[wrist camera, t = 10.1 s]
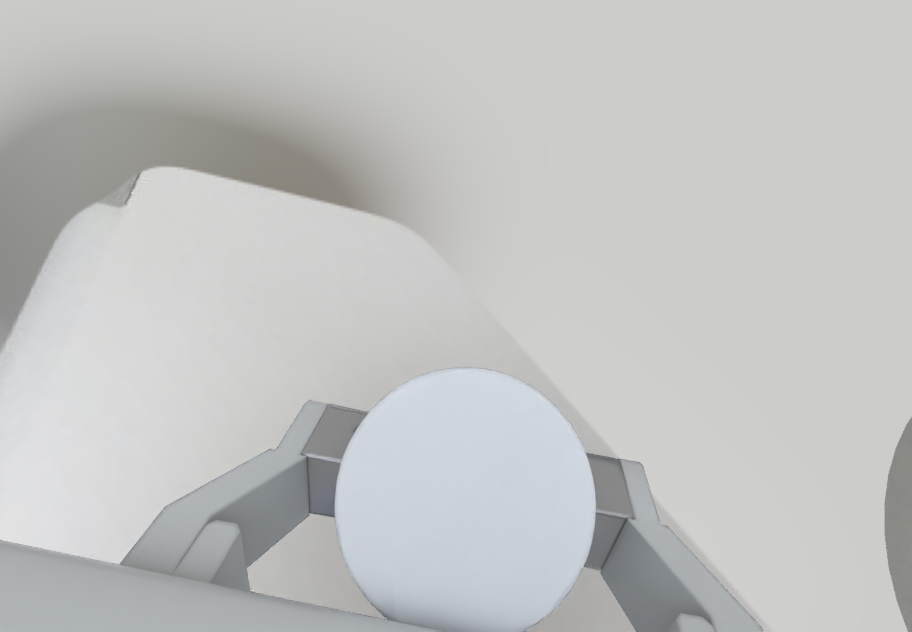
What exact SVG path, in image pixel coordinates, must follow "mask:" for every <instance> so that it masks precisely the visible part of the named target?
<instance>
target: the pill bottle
mask: <svg viewBox="0 0 912 632" xmlns="http://www.w3.org/2000/svg"><path fill="white" fill-rule="evenodd" d="M334 508H335V524H336V530H337V536H338V540H339V544H340V549H341V552H342V554H343V557H344V560H345V563H346V565H347V567H348V569H349V571H350V573H351V575H352V578H353V580H354V581H355V583H356V584H357V586H358V587H359V589H360V590H361V591H362V593H363V594H364V596H365V597H366V598H367V599H368V601H369V602H370V603H371V604H372V605H373V606H374V607H375V608H376V609H377V610H378V611H379V612H380V613H381V614H382V615H383V616H385V617H386V618H387V619H388V620H390V621H395V622H400V623H405V624H409V625H414V626H419V627H424V628H429V629H434V630H439V631H444V632H525V631H526V630H528V629H530V628H531V627H533V626H535V625H536V624H537V623H539V622H540V621H541V620H543V619H544V618H545V617H546V616H548V615H549V614H550V613H551V612H552V611H553V610H554V609H555V608H556V607H557V606H558V604H559V603H560V602H561V601H562V600H563V599H564V598H565V597H566V596H567V594H568V592H569V591H570V589H571V588H572V586H573V585H574V583H575V582H576V580H577V579H578V577H579V575H580V573H581V571H582V568H583V566H584V564H585V562H586V560H587V557H588V554H589V551H590V547H591V544H592V539H593V533H594V527H595V515H596V499H595V487H594V481H593V476H592V472H591V468H590V464H589V461H588V458H587V455H586V452H585V450H584V448H583V446H582V444H581V442H580V440H579V438H578V436H577V434H576V433H575V431H574V429H573V428H572V426H571V424H570V423H569V422H568V420H567V419H566V418H565V417H564V415H563V414H562V413H561V412H560V411H559V409H558V408H557V407H556V406H555V405H554V404H553V403H552V402H551V401H549V400H548V399H547V398H546V397H545V396H543V395H542V394H541V393H540V392H538V391H537V390H536V389H534V388H533V387H531V386H530V385H528V384H526V383H524V382H522V381H520V380H518V379H516V378H514V377H512V376H509V375H507V374H503V373H500V372H496V371H492V370H488V369H482V368H473V367H456V368H448V369H442V370H437V371H433V372H430V373H426V374H423V375H421V376H418V377H416V378H414V379H412V380H410V381H408V382H405V383H404V384H402V385H400V386H399V387H397V388H396V389H394V390H393V391H392V392H390V393H389V394H388V395H386V396H385V397H384V398H383V399H382V400H380V401H379V402H378V403H377V404H376V405H375V406H374V407H373V408H372V409H371V411H370V412H369V413H368V414H367V415H366V417H365V418H364V419H363V420H362V422H361V423H360V425H359V426H358V428H357V429H356V431H355V433H354V434H353V436H352V438H351V440H350V442H349V444H348V446H347V448H346V451H345V453H344V455H343V459H342V462H341V465H340V469H339V473H338V477H337V483H336V492H335V505H334Z"/></svg>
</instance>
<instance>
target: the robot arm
mask: <svg viewBox="0 0 912 632" xmlns="http://www.w3.org/2000/svg"><path fill="white" fill-rule="evenodd" d="M368 413H369V412H365V411H361V410H356V409H351V408H347V407H342V406H337V405H333V404H326V403H321V402H317V401H312V400H309V401H308V402H306V403H305V404H304V405H303V407H302V409H301V410H300V412H299V413H298V415H297V417H296V418H295V420H294V422H293V423H292V425H291V426H290V428H289V430H288V431H287V433H286V434H285V436H284V438H283V439H282V441H281V443H280V444H279V446H278V447H277V449H276V450H272V449H269V450H267V451H265V452H263V453H261V454H260V455H258V456H256V457H254V458H252V459H251V460H249V461H247V462H245V463H243V464H242V465H240V466H238V467H236V468H234V469H232V470H231V471H229V472H227V473H225V474H223V475H222V476H220V477H218V478H216V479H214V480H213V481H211V482H209V483H207V484H205V485H204V486H202V487H200V488H198V489H196V490H194V491H193V492H191V493H189V494H187V495H185V496H184V497H182V498H180V499H178V500H176V501H175V502H173V503H171V504H169V505H167V506H165V507H164V508H163V510H162V511H161V512H160V514H159V515H158V516H157V517H156V519H155V520H154V521H153V522H152V524H151V525H150V526H149V528H148V529H147V530H146V531H145V533H144V534H143V535H142V536H141V538H140V539H139V540H138V542H137V543H136V544H135V545H134V547H133V548H132V549H131V550H130V552H129V553H128V554H127V555H126V557H125V558H124V559H123V561H122V562H121V563H120V564H114V563H109V562H104V561H99V560H94V559H90V558H85V557H80V556H75V555H70V554H65V553H61V552H56V551H51V550H46V549H41V548H36V547H32V546H27V545H22V544H17V543H12V542H8V541H3V540H0V632H444V631H439V630H434V629H429V628H424V627H419V626H414V625H409V624H405V623H400V622H395V621H390V620H385V619H380V618H375V617H371V616H366V615H361V614H356V613H351V612H346V611H341V610H337V609H332V608H327V607H322V606H317V605H312V604H307V603H303V602H298V601H293V600H288V599H283V598H278V597H274V596H269V595H264V594H259V593H254V592H250V586H249V580H248V574H247V567H249V566H250V565H251V564H252V563H253V562H254V561H256V560H257V559H258V558H259V557H260V556H262V555H263V554H264V553H265V552H266V551H268V550H269V549H270V548H271V547H272V546H273V545H275V544H276V543H277V542H278V541H279V540H281V539H282V538H283V537H284V536H285V535H286V534H288V533H289V532H290V531H291V530H292V529H294V528H295V527H296V526H297V525H298V524H300V523H301V522H302V521H303V520H304V519H305V518H307V517H308V516H309V513H313V514H319V515H325V516H331V517H335V508H334V505H335V492H336V483H337V477H338V473H339V469H340V465H341V462H342V459H343V455H344V453H345V451H346V448H347V446H348V444H349V442H350V440H351V438H352V436H353V434H354V433H355V431H356V429H357V428H358V426H359V425H360V423H361V422H362V420H363V419H364V418H365V417H366V415H367V414H368ZM586 455H587V458H588V461H589V464H590V468H591V472H592V476H593V481H594V487H595V499H596V515H595V527H594V533H593V539H592V544H591V547H590V551H589V554H588V557H587V560H586V562H585V564H584V566H583V567H587V568H591V569H595V570H600V571H601V572H600V573H601V575H602V576H603V578H604V580H605V581H606V583H607V584H608V586H609V588H610V589H611V591H612V593H613V594H614V596H615V597H616V599H617V601H618V602H619V604H620V606H621V607H622V609H623V611H624V612H625V614H626V615H627V617H628V619H629V620H630V622H631V624H632V625H633V627H634V628H635V630H636V632H764V631H763V629H762V627H761V626H760V625H759V624H758V623H757V622H756V621H755V620H754V619H753V617H752V616H751V615H750V614H749V613H748V612H747V611H746V610H745V609H744V608H743V607H742V606H741V605H740V603H739V602H738V601H737V600H736V599H735V598H734V597H733V596H732V595H731V594H730V593H729V592H728V591H727V590H726V588H725V587H724V586H723V585H722V584H721V583H720V582H719V581H718V580H717V579H716V578H715V577H714V576H713V575H712V573H711V572H710V571H709V570H708V569H707V568H706V567H705V566H704V565H703V564H702V563H701V562H700V561H699V559H698V558H697V557H696V556H695V555H694V554H693V553H692V552H691V551H690V550H689V549H688V548H687V547H686V546H685V544H684V543H683V542H682V541H681V540H680V539H679V538H678V537H677V536H676V535H675V534H674V533H673V532H672V531H671V529H670V528H669V527H668V526H665V525H661V524H660V521H659V518H658V514H657V511H656V508H655V504H654V501H653V498H652V494H651V491H650V488H649V484H648V481H647V478H646V474H645V471H644V468H643V465H642V464H641V463H640V462H635V461H629V460H624V459H616V458H612V457H606V456H601V455H595V454H589V453H586Z"/></svg>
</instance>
